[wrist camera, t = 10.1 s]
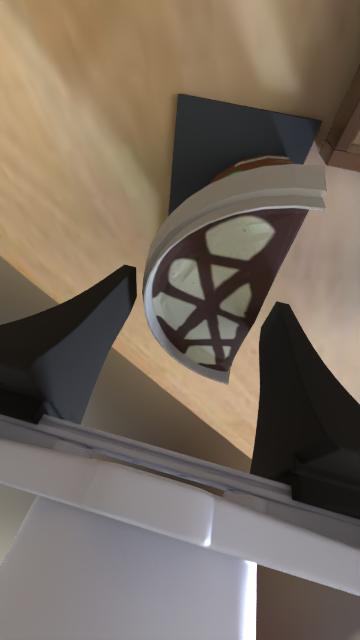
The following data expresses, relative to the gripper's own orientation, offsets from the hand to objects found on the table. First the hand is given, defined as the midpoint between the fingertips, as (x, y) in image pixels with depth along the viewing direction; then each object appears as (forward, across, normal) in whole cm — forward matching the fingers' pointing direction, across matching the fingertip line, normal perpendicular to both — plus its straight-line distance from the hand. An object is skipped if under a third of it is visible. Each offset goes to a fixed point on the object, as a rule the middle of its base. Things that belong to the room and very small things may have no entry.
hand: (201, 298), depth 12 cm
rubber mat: (+9, 0, 0) cm, 9 cm away
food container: (+9, 0, 0) cm, 9 cm away
